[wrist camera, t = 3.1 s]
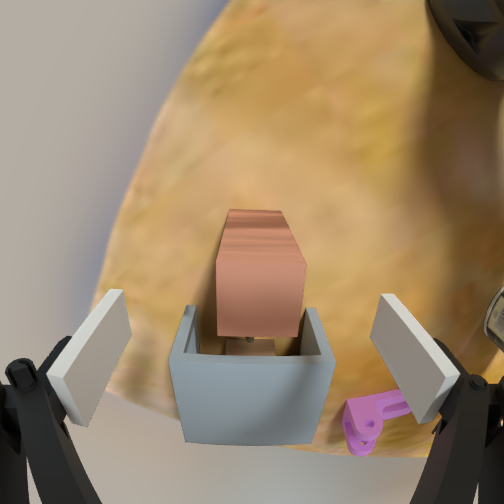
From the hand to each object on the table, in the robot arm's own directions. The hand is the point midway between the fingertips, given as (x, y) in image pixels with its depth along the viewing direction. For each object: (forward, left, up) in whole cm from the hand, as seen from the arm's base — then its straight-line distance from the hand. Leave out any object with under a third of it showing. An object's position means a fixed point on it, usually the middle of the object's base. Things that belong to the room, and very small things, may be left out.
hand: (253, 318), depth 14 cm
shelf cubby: (+13, 0, -13) cm, 19 cm away
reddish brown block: (+7, 0, -13) cm, 15 cm away
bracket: (+24, +20, -14) cm, 35 cm away
